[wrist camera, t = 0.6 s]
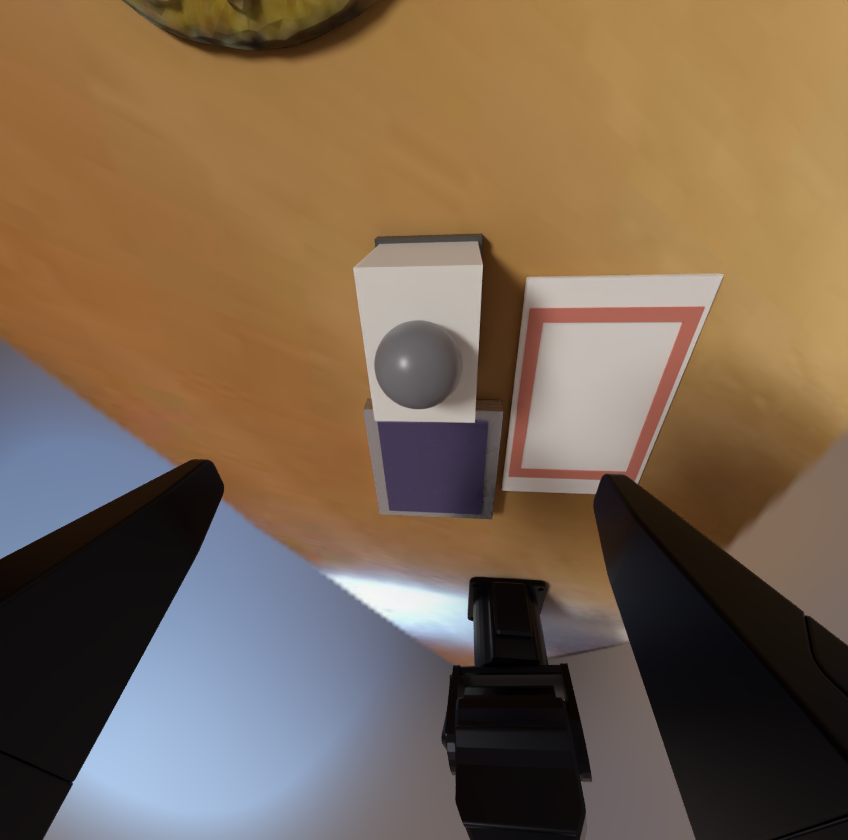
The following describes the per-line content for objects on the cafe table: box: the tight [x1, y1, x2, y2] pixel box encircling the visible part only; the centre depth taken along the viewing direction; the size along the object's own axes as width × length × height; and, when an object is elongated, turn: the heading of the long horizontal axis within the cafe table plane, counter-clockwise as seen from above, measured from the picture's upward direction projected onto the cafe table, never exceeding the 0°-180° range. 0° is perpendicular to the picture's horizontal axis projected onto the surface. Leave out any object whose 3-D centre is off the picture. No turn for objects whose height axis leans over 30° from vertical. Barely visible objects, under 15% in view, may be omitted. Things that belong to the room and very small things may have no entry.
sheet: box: [502, 273, 723, 494], centre depth 21 cm, size 14×9×1 cm, turn 2°
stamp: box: [353, 234, 483, 423], centre depth 15 cm, size 5×7×8 cm
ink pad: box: [363, 399, 503, 519], centre depth 24 cm, size 9×8×2 cm
